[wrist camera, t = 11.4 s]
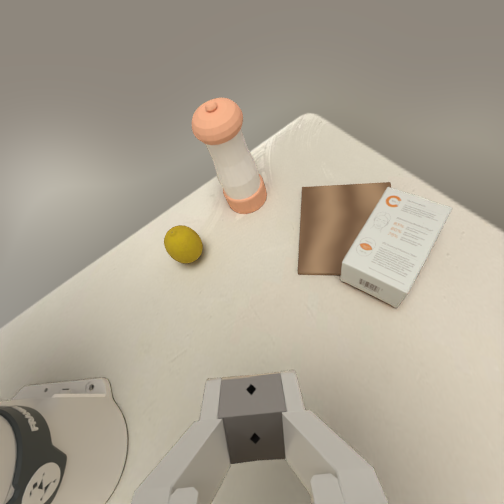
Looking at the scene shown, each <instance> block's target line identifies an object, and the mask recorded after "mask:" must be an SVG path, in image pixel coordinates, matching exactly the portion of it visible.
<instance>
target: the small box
mask: <svg viewBox="0 0 504 504" xmlns="http://www.w3.org/2000/svg"><path fill="white" fill-rule="evenodd" d="M451 211H452V207H449V206H446V205H443V204H440V203H437V202H434V201H431V200H428V199H426V198H423V197H420V196H417V195H413V194H410V193H406V192H403V191H400V190H397V189H394V188H390V187H387V188H386V190H385V192H384V193H383V195H382V197H381V199H380V200H379V202H378V203H377V205H376V207H375V208H374V210H373V212H372V213H371V215H370V217H369V218H368V220H367V221H366V223H365V225H364V226H363V228H362V230H361V231H360V233H359V234H358V236H357V238H356V239H355V241H354V243H353V244H352V246H351V247H350V249H349V251H348V252H347V254H346V256H345V257H344V259H343V261H342V268H341V279H340V280H341V281H343V282H345V283H348V284H350V285H352V286H354V287H356V288H358V289H360V290H362V291H364V292H366V293H368V294H370V295H372V296H374V297H376V298H378V299H380V300H382V301H384V302H386V303H388V304H390V305H391V306H393V307H395V308H397V307H398V306H399V305H400V303H401V302H402V301H403V299H404V298H405V297H406V295H407V294H408V292H409V291H410V289H411V287H412V285H413V283H414V281H415V280H416V278H417V276H418V274H419V272H420V270H421V268H422V267H423V265H424V263H425V261H426V259H427V257H428V255H429V253H430V251H431V249H432V247H433V245H434V243H435V241H436V239H437V237H438V235H439V234H440V232H441V230H442V228H443V226H444V224H445V222H446V220H447V218H448V216H449V214H450V212H451Z"/></svg>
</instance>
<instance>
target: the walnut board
mask: <svg viewBox="0 0 504 504" xmlns="http://www.w3.org/2000/svg"><path fill="white" fill-rule="evenodd" d="M387 187H390V188H391V183H390V182H387V183H369V184H351V185H333V186H315V187H302V202H301V221H300V240H299V259H298V274H300V275H340V276H341V268H342V261H343V259H344V257H345V256H346V254H347V252H348V251H349V249H350V247H351V246H352V244H353V243H354V241H355V239H356V238H357V236H358V234H359V233H360V231H361V230H362V228H363V226H364V225H365V223H366V221H367V220H368V218H369V217H370V215H371V213H372V212H373V210H374V208H375V207H376V205H377V203H378V202H379V200H380V199H381V197H382V195H383V193H384V192H385V190H386V188H387Z"/></svg>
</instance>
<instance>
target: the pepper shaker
mask: <svg viewBox="0 0 504 504" xmlns="http://www.w3.org/2000/svg"><path fill="white" fill-rule="evenodd" d="M242 122H243V114H242V111H241V109H240V108H239V107H238V105H237V104H236V103H234V102H233V101H231V100H229V99H228V98H215V99H213V100H209V101H207V102H206V103H203V104H202V105H201V106H200V107H198V109H197V110H196V111H195V113H194V115H193V118H192V130H193V133H194V135H195V137H196V138H197V139H198V140H200V141H202V142H203V143H205V144H206V146H207V149H208V151H209V153H210V155H211V157H212V159H213V162H214V166H215V169H216V173H217V177H218V180H219V181H220V183H221V185H222V187H223V194H224V196H225V198H226V200H227V202H228V203H229V205H230V207H231V209H232V210H234V211H235V212H237V213H240V214H247V213H251V212H254V211H256V210H258V209H259V208H260V207H261V206H262V205H263V204H264V202H265V200H266V196H267V193H266V189H265V185H264V182H263V179H262V177H261V175H260V174H259V173H258V169H257V165H256V162H255V161H254V159H253V157H252V155H251V153H250V151H249V150H248V148H247V145H246V143H245V140H244V137H243V134H242V130H241V126H242Z"/></svg>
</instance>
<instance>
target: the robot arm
mask: <svg viewBox="0 0 504 504" xmlns="http://www.w3.org/2000/svg"><path fill="white" fill-rule="evenodd" d="M93 385H94V388H93V390H92V387H93ZM126 453H127V429H126V424H125V420H124V418H123V415H122V413H121V411H120V409H119V408H118V406H117V405H116V403H115V402H114V400H113V398H112V393H111V387H110V384H109V381H108V380H107V379H106V378H95V379H85V380H76V381H66V382H56V383H46V384H37V385H28V386H24V387H23V388H21V389H20V390H19V392H18V393H17V394H16V395H15V396H14V397H13V399H12V400H4V401H0V504H105V503H106V501H107V500H108V499H109V497H110V496H111V494H112V493H113V491H114V489H115V487H116V485H117V483H118V481H119V479H120V476H121V474H122V471H123V467H124V464H125V459H126ZM273 459H286V461H287V463H288V464H289V465H290V467H291V468H292V470H293V471H294V472H295V474H296V475H297V477H298V478H299V480H300V481H301V482H302V484H303V485H304V487H305V488H306V490H307V491H308V492H309V494H310V495H311V504H389V503H388V501H387V498H386V496H385V494H384V491H383V489H382V487H381V484H380V482H379V479H378V477H377V475H376V472H375V470H374V468H373V467H372V466H371V465H370V464H369V463H368V462H367V461H366V460H364V459H363V458H362V457H361V456H360V455H359V454H358V453H357V452H356V451H355V450H354V449H352V448H351V447H350V446H349V445H348V444H347V443H346V442H345V441H344V440H343V439H341V438H340V437H339V436H338V435H337V434H336V433H335V432H334V431H333V430H332V429H331V428H329V427H328V426H327V425H326V424H325V423H324V422H323V421H322V420H321V419H320V418H318V417H317V416H316V415H315V414H314V413H313V412H312V411H311V410H305V407H304V403H303V399H302V395H301V391H300V387H299V383H298V379H297V375H296V372H295V370H289V371H281V372H274V373H265V374H256V375H245V376H232V377H222V378H210V379H207V381H206V383H205V389H204V395H203V401H202V407H201V413H200V418H199V421H194V423H193V424H192V425H191V426H190V427H189V428H188V430H187V431H186V432H185V433H184V434H183V435H182V437H181V438H180V439H179V440H178V441H177V442H176V444H175V445H174V446H173V447H172V448H171V449H170V451H169V452H168V453H167V454H166V455H165V456H164V458H163V459H162V460H161V461H160V462H159V463H158V465H157V466H156V467H155V468H154V469H153V470H152V472H151V473H150V474H149V475H148V476H147V477H146V479H145V480H144V481H143V482H142V483H141V484H140V486H139V487H138V488H137V489H136V490H135V492H134V495H133V498H132V501H131V504H211V502H212V501H213V499H214V497H215V495H216V493H217V491H218V489H219V487H220V485H221V483H222V482H223V480H224V478H225V476H226V474H227V472H228V470H229V468H230V464H235V463H243V462H250V461H258V460H273Z"/></svg>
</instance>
